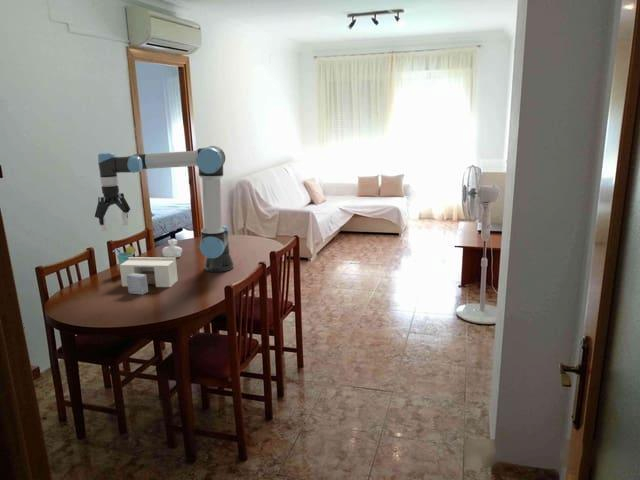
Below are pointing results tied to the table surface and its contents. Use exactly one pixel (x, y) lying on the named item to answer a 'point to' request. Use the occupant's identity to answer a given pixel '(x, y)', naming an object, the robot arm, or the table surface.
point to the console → (151, 270)
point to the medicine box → (137, 283)
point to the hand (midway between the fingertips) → (115, 228)
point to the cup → (125, 254)
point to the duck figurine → (172, 249)
